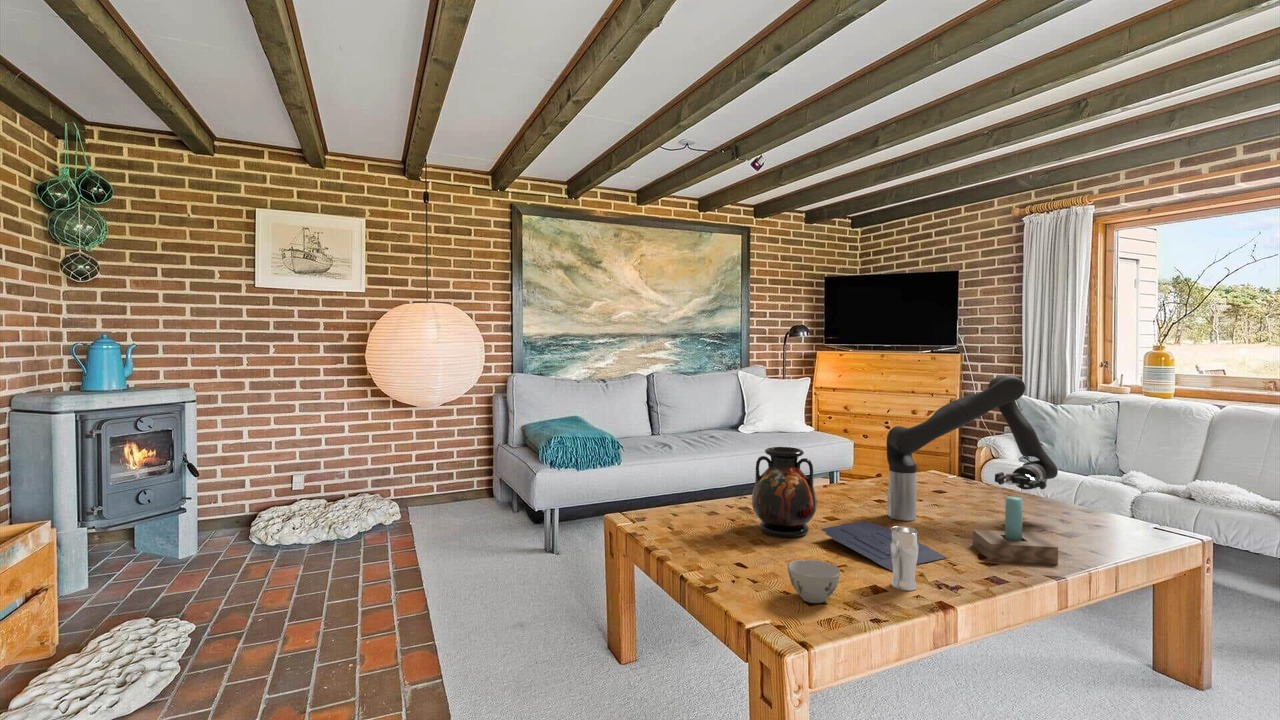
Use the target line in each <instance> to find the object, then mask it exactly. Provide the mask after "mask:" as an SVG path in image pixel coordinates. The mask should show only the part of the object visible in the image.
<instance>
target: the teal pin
mask: <svg viewBox="0 0 1280 720" xmlns="http://www.w3.org/2000/svg"><path fill="white" fill-rule="evenodd" d="M1023 503H1024V501H1023V498H1021V497H1017V496H1006V497H1005V506H1004V507H1005V509H1004V512H1005V513H1004V516H1005V519H1004V521H1005V523H1004V524H1005V525H1004V531H1005V539H1006V540H1007V541H1022V532H1023V511H1024V510H1023V508H1024V507H1023V505H1024V504H1023Z"/></svg>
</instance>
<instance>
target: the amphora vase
mask: <svg viewBox="0 0 1280 720" xmlns="http://www.w3.org/2000/svg"><path fill="white" fill-rule="evenodd" d="M764 453H765V454H766V455H768V456H770V457H768V456H765V455H761V456H759V457H758V458H757V460H756V463H755V478H754V479H755V483H754V486H753V490H752V495H751V503H752V504H751V505H752V509H753V511H754V514H755V516H757V518H758V519H759V520H760V521H761V522H759V524H758V525H759V526H758V527H759V529H760V530H761V531H762V532H763V533H764V534H767V535H769V536H772V537H777V538H787V539H788V538H790V539H791V538H801V537H803V536H805V535H807V534H808V533H809V530H810V528H809V526H808V523H809V522H810V521H811V520H812V519H813V517H814V516H815V514H816V512H817V506H818V500H817V494H816V491H815V488H814V466H813V463H812V461H811V459H808V457H807V458H805V457H804V458H801V459H799V457H802V456H803V455H804V454H805V453H804V450H803V449H801V448H798V447H797V448H796V447H790V446H789V447H788V446H773V447H768V448H766V449H764ZM798 459H799V460H798ZM763 460H764V461H766V463H767V466H768V467H767V468H766V469H765V470H764V472H763V473H762V474H761V475H760V466H761V462H762V461H763ZM802 463H806V464H807V465H808V468H809V477H807V476H806V474H805V473H804V472H803V470H802V469H801V464H802Z"/></svg>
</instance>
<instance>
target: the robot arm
mask: <svg viewBox="0 0 1280 720" xmlns="http://www.w3.org/2000/svg"><path fill="white" fill-rule="evenodd" d="M1025 391H1026V383H1025V382H1024V381H1023V380H1022V379H1021V378H1019V377H1018V376H1015V375H1004V376H1002V375H1001V376H996V377H994V378H992V379H991V380H990V381H989V383H988V385H987V388H986V389H984V390H981V391H979V392H976V393H972V394H969V395H966V396H963V397H960V398H956V399H955V400H953V401H950V402H948V403H947V404H945V405H942V406H941V407H940V408H938V409H937V410H936V411H935V412H934V413H932V415H931V416H930V417H929V418H928V419H927V420H925V421H923V422H921V423H919V424H916V425H915V426H911V427H906V426H905V427H904V426H901V425H899V426H894V427H892V428H891V429H890V430H889V431H888V433H887V436H886V461H887V463H888V489H887V499H886V500H887V502H886V503H887V504H886V505H887V507H886V509H887V510H886V512H887V513H886V514H887V516H888V518H890V519H891V520H898V521H905V522H906V521H915V520H916V519H917V464H916V462H915V460H914V458H913V453H916V452H917V451H919V450H920V449H922V448H923V447H925V446H926V445H928V444H929V443H931V442H933V441H935V440H936V439H938V438H940V437H942V436H945V435H946V434H949V433H950V432H954V431H955V430H957V429H959V428H962V427H963V426H965V425H967V424H969V423H971V422H973V421H974V420H976V419H978V418H980V417H982V416H983V415H985V414H988V413H989V412H990V411H992V410H995V409H997V408H998V410H999V412H1000V413H1001V416H1002V417H1003V418H1004V420H1005V422H1006V424H1007V425H1008V427H1009V430H1010V431H1011V434H1012V437H1013V438H1014V441H1015V443H1016V445H1017V448H1018V450H1019V452H1020V454H1021V456H1023V457H1033V458H1036V459H1038V460H1033V461H1028V462H1024V463H1023V464H1022V466H1020V467H1018V468H1016V469H1015V470H1014V471H1012V472H1011V473H1006V474H1005V473H1004V472H1003V471H1001V472H997V473H995V474H994V482H995V483H998V485H1004V484H1007V485H1015V486H1016V487H1017V488H1019V489H1021V490H1027V491H1028V490H1033V489H1035V490H1036V489H1038V488H1039V489H1040V490H1045V489H1046V488H1047V486H1048V485H1047V484H1048V480H1051V479H1055V478H1057V476H1058V472H1059V471H1058V467H1057V465H1056V464H1055V462H1054V461H1053V460H1052V458H1050V457H1049V455H1048V454H1047V453H1046V451H1045V449H1044V448H1043V446H1042V444H1041V441H1040V439H1039V437H1038V435H1037V433H1036V431H1035V429H1034V427H1033V426H1032V425H1031V423H1030V422H1029V421H1028V419H1027V418H1026V417H1025V416H1024V415H1023V413H1022V412H1021V411H1020V409H1019V407H1018V405H1017V403H1016V401H1017V400H1019V399H1020V398H1022V396H1023V395H1024V394H1025Z"/></svg>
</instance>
